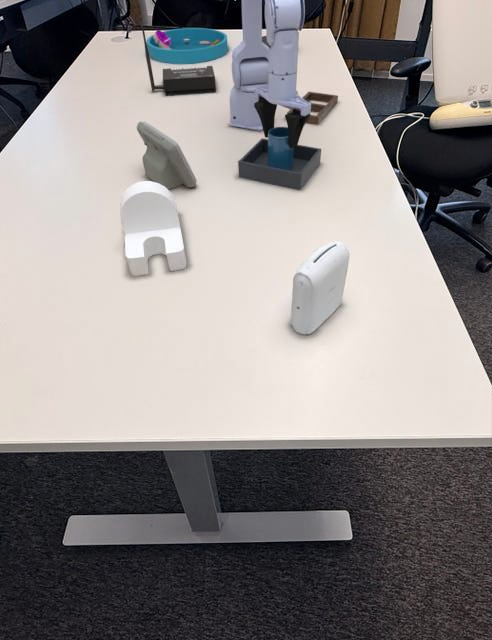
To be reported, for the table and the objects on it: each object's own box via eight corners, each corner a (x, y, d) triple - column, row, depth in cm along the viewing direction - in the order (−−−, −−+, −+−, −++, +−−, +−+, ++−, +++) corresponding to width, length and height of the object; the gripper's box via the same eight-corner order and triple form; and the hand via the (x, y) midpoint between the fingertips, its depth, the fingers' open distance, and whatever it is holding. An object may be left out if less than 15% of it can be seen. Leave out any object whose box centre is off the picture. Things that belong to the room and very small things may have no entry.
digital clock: (199, 189, 96) (193, 140, 88) (161, 199, 94) (151, 149, 86) (176, 159, 106) (168, 112, 98) (140, 168, 104) (129, 120, 95)
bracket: (187, 268, 78) (177, 211, 69) (130, 276, 77) (113, 219, 68) (177, 213, 90) (168, 158, 82) (128, 219, 89) (113, 164, 80)
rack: (286, 119, 121) (287, 112, 119) (308, 98, 131) (308, 91, 129) (318, 124, 118) (318, 117, 117) (337, 102, 128) (338, 95, 127)
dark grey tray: (238, 177, 100) (238, 161, 97) (261, 153, 107) (261, 138, 105) (300, 190, 96) (301, 174, 93) (320, 164, 103) (321, 148, 100)
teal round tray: (161, 39, 175) (158, 21, 170) (234, 40, 172) (233, 22, 167) (138, 62, 156) (134, 43, 151) (219, 64, 153) (218, 44, 148)
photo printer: (308, 339, 66) (315, 276, 57) (286, 327, 68) (289, 263, 59) (344, 304, 71) (357, 240, 62) (323, 293, 73) (331, 229, 64)
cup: (262, 167, 101) (262, 132, 95) (280, 159, 104) (281, 124, 98) (280, 176, 98) (281, 140, 92) (297, 167, 101) (299, 132, 95)
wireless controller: (212, 77, 144) (207, 12, 131) (216, 92, 135) (211, 24, 122) (152, 81, 143) (141, 16, 129) (151, 96, 134) (139, 28, 121)
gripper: (323, 74, 84) (317, 145, 95) (271, 58, 91) (270, 126, 102) (298, 83, 81) (295, 156, 92) (246, 66, 88) (248, 135, 99)
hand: (280, 141), depth 96 cm, fingers open, 7 cm apart
